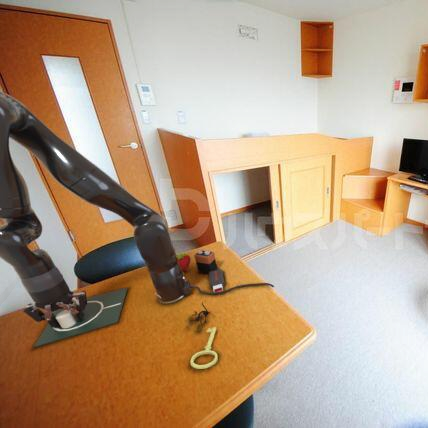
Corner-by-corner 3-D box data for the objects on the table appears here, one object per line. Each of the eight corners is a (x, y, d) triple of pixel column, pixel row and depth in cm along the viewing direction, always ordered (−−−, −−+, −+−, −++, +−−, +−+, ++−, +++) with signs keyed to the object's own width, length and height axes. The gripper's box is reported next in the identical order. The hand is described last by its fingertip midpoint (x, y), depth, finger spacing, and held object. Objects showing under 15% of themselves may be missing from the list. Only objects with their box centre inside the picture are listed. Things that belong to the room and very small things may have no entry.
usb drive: (222, 272, 103) (221, 267, 102) (225, 290, 94) (224, 284, 93) (209, 275, 101) (208, 270, 100) (211, 294, 92) (210, 288, 90)
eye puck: (78, 317, 80) (72, 308, 78) (74, 325, 77) (68, 315, 75) (64, 321, 79) (58, 311, 77) (59, 330, 76) (53, 320, 74)
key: (217, 329, 78) (216, 325, 77) (218, 364, 67) (217, 360, 66) (192, 337, 75) (191, 332, 74) (190, 374, 65) (188, 370, 64)
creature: (194, 338, 76) (216, 320, 80) (186, 329, 73) (210, 310, 77) (184, 324, 81) (206, 307, 85) (177, 315, 78) (200, 298, 82)
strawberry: (173, 276, 100) (167, 257, 96) (183, 265, 107) (177, 246, 103) (186, 277, 100) (181, 257, 96) (196, 265, 107) (191, 247, 103)
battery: (211, 274, 102) (207, 255, 98) (198, 272, 103) (193, 253, 99) (217, 268, 106) (214, 249, 101) (204, 266, 107) (199, 247, 103)
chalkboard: (128, 288, 94) (127, 287, 93) (117, 322, 79) (117, 321, 79) (59, 306, 85) (58, 304, 85) (34, 348, 71) (33, 346, 71)
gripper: (2, 299, 65) (33, 341, 72) (72, 283, 71) (94, 323, 78) (17, 282, 71) (45, 322, 78) (80, 268, 77) (100, 307, 84)
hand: (69, 322), depth 78 cm, fingers open, 5 cm apart
